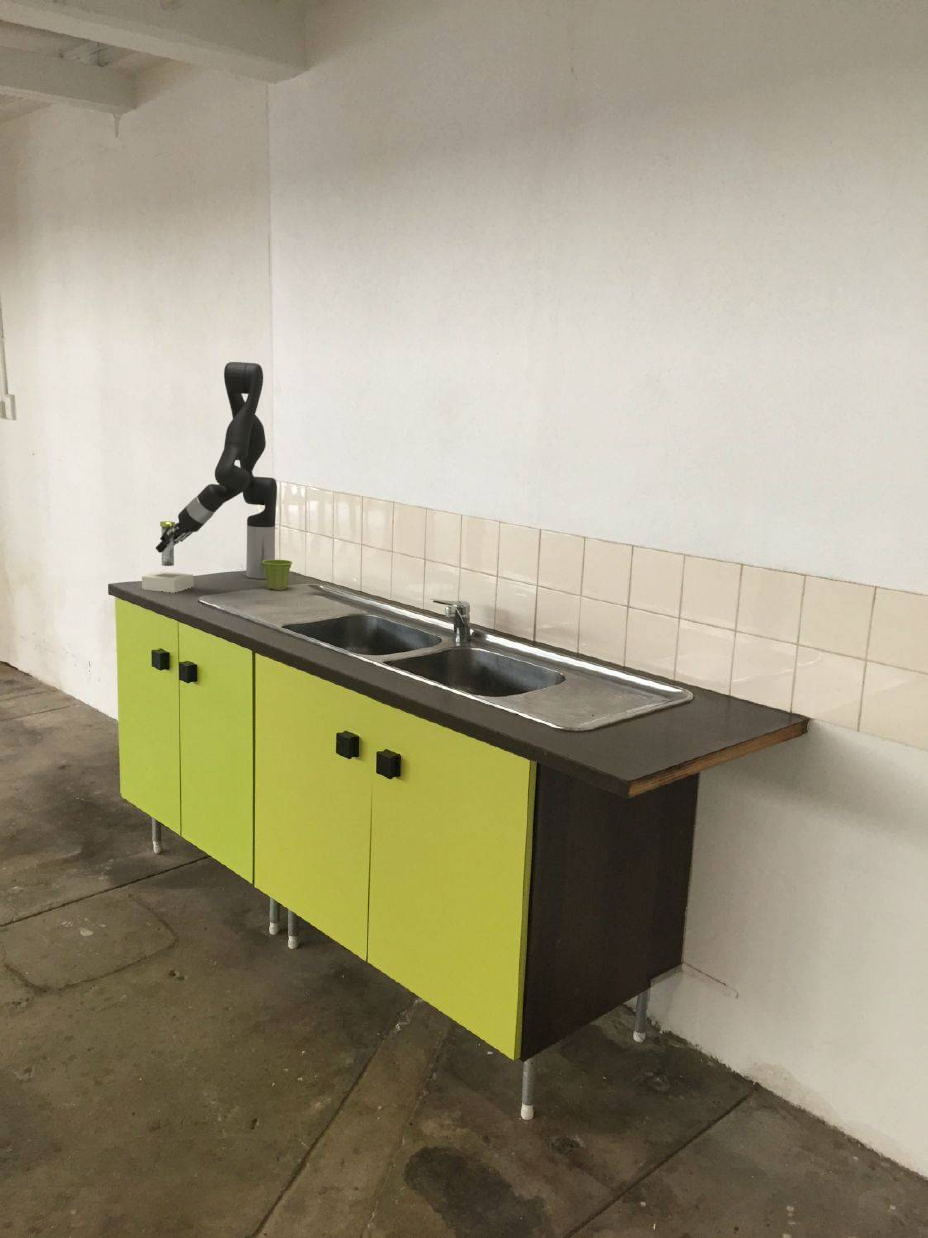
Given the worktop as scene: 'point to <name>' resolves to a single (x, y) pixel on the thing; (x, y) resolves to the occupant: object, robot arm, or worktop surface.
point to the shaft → (169, 550)
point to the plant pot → (277, 573)
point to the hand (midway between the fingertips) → (161, 549)
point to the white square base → (167, 581)
